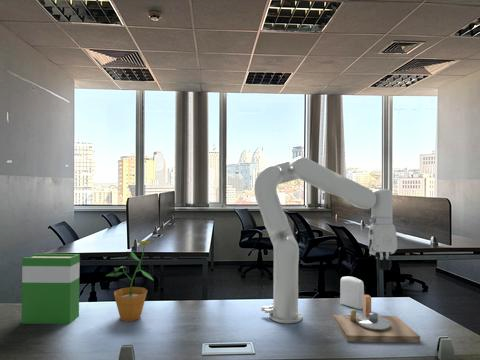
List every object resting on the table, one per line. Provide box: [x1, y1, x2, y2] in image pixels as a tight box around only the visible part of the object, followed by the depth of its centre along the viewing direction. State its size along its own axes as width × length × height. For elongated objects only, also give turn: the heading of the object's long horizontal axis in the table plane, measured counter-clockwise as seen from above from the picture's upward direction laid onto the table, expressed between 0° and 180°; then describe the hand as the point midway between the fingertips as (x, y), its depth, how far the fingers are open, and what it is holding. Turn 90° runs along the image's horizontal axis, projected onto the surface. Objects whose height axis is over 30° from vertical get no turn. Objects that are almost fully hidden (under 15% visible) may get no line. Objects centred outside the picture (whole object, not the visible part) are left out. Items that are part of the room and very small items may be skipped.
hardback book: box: [21, 253, 81, 325], centre depth 132 cm, size 18×7×24 cm, turn 90°
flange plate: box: [357, 294, 390, 331], centre depth 126 cm, size 14×11×8 cm
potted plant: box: [104, 240, 154, 322], centre depth 135 cm, size 18×19×30 cm
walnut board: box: [332, 308, 421, 343], centre depth 125 cm, size 24×18×6 cm
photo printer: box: [339, 275, 365, 310], centre depth 150 cm, size 10×4×12 cm, turn 39°
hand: (382, 269), depth 134 cm, fingers closed
